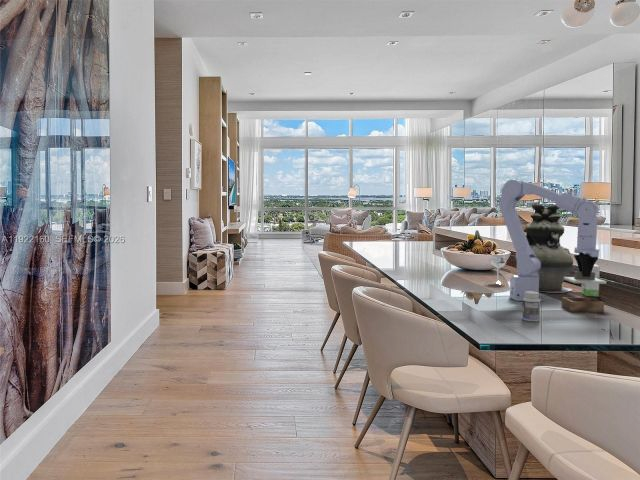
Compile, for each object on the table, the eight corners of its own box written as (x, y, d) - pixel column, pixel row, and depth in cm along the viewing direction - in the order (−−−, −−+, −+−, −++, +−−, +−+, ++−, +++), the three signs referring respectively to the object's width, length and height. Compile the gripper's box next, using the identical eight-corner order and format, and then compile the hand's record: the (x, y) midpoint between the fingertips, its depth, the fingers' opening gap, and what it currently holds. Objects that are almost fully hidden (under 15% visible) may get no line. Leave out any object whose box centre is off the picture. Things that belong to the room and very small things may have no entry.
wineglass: (486, 281, 225) (487, 255, 224) (499, 281, 227) (500, 255, 226) (496, 284, 219) (497, 256, 218) (509, 283, 221) (510, 256, 220)
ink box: (599, 297, 190) (600, 266, 189) (584, 296, 192) (586, 265, 191) (594, 293, 198) (595, 263, 197) (580, 292, 200) (581, 263, 199)
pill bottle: (525, 317, 153) (526, 290, 153) (541, 319, 151) (542, 292, 150) (520, 320, 150) (521, 292, 149) (536, 322, 147) (537, 294, 146)
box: (571, 312, 162) (571, 301, 162) (561, 307, 170) (561, 297, 169) (603, 312, 161) (604, 302, 161) (592, 307, 169) (592, 297, 169)
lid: (573, 282, 168) (573, 273, 168) (563, 279, 176) (563, 269, 176) (606, 283, 167) (606, 274, 166) (594, 279, 175) (595, 270, 175)
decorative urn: (528, 285, 221) (529, 205, 219) (579, 290, 206) (581, 204, 204) (507, 289, 205) (508, 204, 204) (561, 295, 191) (563, 203, 189)
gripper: (609, 238, 163) (607, 279, 164) (589, 235, 177) (587, 273, 178) (586, 237, 164) (584, 278, 164) (569, 234, 178) (567, 272, 179)
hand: (584, 276), depth 171 cm, fingers closed on lid, 2 cm apart
